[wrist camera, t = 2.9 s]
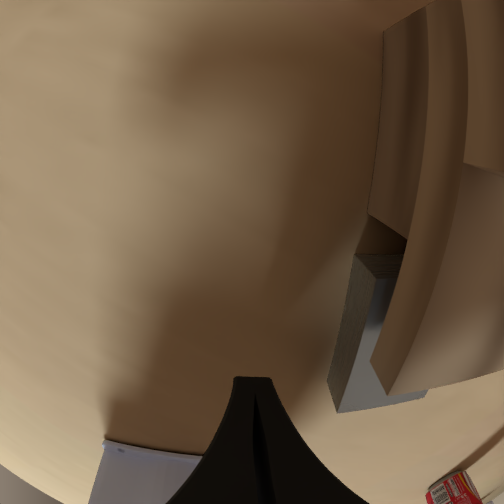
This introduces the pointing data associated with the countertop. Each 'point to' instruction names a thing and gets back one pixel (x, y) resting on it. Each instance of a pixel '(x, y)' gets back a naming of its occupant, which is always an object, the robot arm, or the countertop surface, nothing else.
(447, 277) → the brown layered blocky piece
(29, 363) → the countertop surface
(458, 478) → the soda can
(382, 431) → the countertop surface
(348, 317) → the grey rectangular block
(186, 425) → the countertop surface
